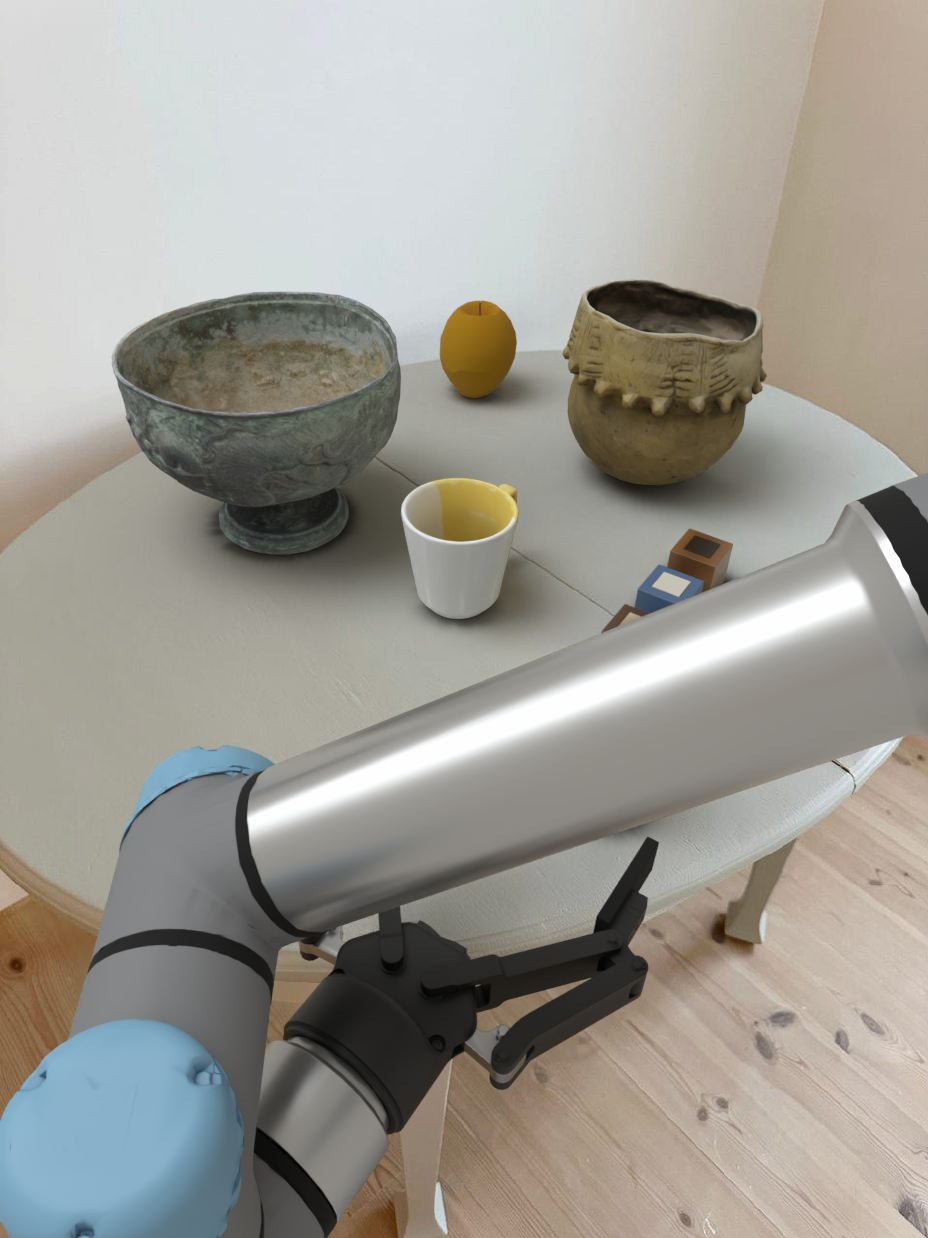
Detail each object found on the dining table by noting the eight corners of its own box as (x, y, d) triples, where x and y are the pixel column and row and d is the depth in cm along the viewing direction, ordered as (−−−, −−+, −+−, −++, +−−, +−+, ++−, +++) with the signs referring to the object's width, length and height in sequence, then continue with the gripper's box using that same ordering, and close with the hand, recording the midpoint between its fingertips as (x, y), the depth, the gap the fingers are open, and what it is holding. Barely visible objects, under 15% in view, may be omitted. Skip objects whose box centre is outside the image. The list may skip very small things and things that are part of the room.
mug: (455, 652, 85) (456, 557, 78) (381, 598, 90) (377, 505, 83) (559, 588, 92) (568, 496, 85) (485, 542, 98) (488, 452, 91)
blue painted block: (695, 619, 89) (704, 580, 86) (676, 645, 86) (684, 606, 83) (651, 601, 91) (658, 562, 88) (630, 627, 88) (637, 587, 85)
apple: (521, 408, 120) (527, 317, 112) (444, 412, 118) (444, 320, 111) (507, 373, 127) (512, 286, 119) (435, 377, 126) (435, 289, 118)
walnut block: (664, 661, 84) (672, 621, 81) (642, 690, 81) (650, 650, 78) (618, 641, 86) (625, 602, 83) (595, 670, 83) (601, 630, 80)
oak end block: (724, 581, 93) (733, 542, 90) (706, 605, 90) (715, 566, 87) (681, 565, 95) (689, 527, 92) (662, 588, 92) (670, 549, 89)
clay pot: (625, 408, 120) (648, 247, 107) (775, 472, 109) (820, 301, 96) (514, 468, 108) (524, 296, 96) (669, 547, 97) (704, 364, 84)
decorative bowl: (463, 532, 98) (457, 345, 85) (239, 637, 86) (194, 437, 73) (325, 438, 114) (303, 269, 101) (121, 514, 102) (67, 334, 89)
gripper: (166, 990, 54) (392, 756, 67) (552, 1281, 44) (727, 935, 57) (140, 915, 49) (390, 679, 63) (567, 1222, 39) (754, 860, 52)
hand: (551, 801), depth 60 cm, fingers open, 13 cm apart
